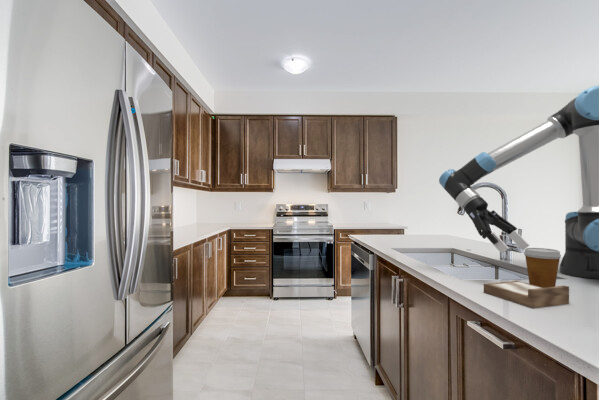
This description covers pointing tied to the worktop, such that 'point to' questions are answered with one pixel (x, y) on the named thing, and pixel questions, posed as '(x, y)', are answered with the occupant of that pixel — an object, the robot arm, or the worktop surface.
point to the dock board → (529, 293)
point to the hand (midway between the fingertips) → (516, 249)
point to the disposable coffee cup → (542, 266)
